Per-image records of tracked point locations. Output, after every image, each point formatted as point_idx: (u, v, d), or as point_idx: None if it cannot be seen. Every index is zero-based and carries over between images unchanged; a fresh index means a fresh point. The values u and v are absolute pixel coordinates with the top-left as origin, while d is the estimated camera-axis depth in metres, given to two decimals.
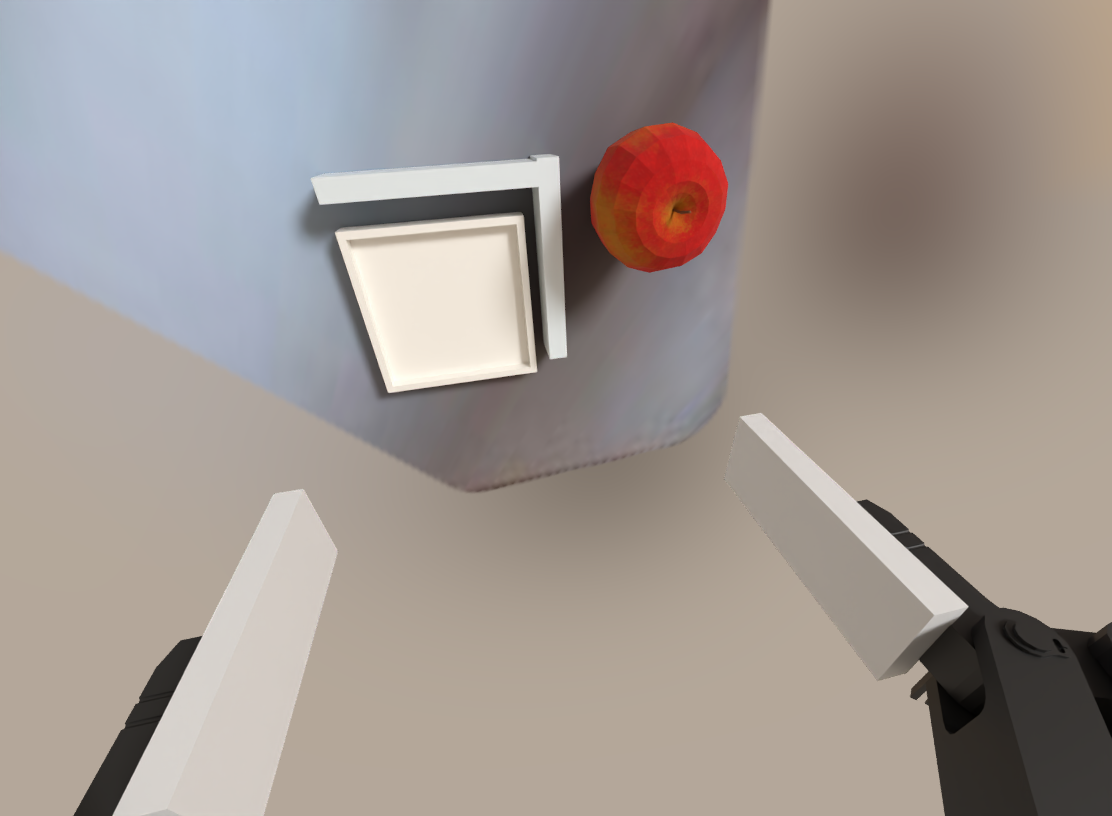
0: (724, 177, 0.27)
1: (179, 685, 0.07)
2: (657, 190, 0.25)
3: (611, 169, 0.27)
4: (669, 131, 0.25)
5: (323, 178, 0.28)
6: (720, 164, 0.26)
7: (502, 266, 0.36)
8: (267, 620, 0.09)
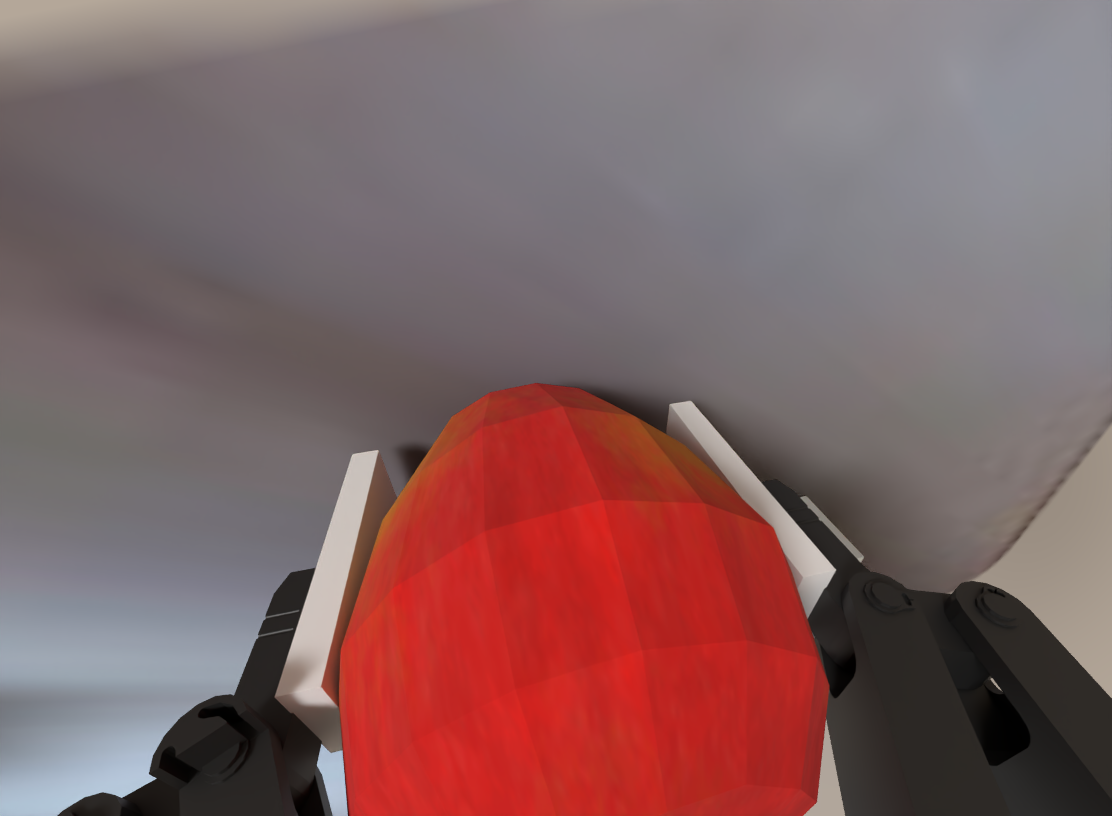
0: (486, 738, 0.05)
1: (307, 600, 0.09)
2: None
3: None
4: None
5: None
6: (428, 762, 0.05)
7: None
8: (364, 556, 0.10)
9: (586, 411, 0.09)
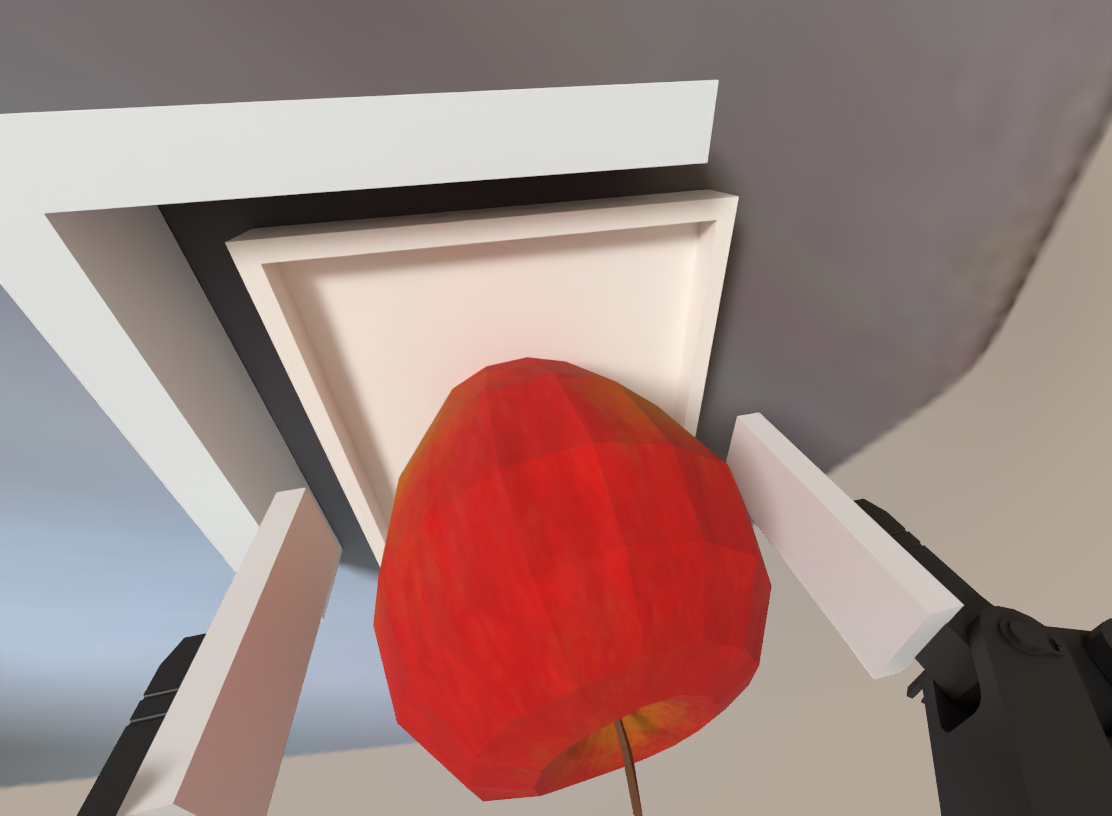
0: (511, 614, 0.06)
1: (184, 682, 0.07)
2: None
3: None
4: None
5: None
6: (466, 637, 0.07)
7: (410, 290, 0.13)
8: (269, 618, 0.09)
9: (574, 377, 0.10)
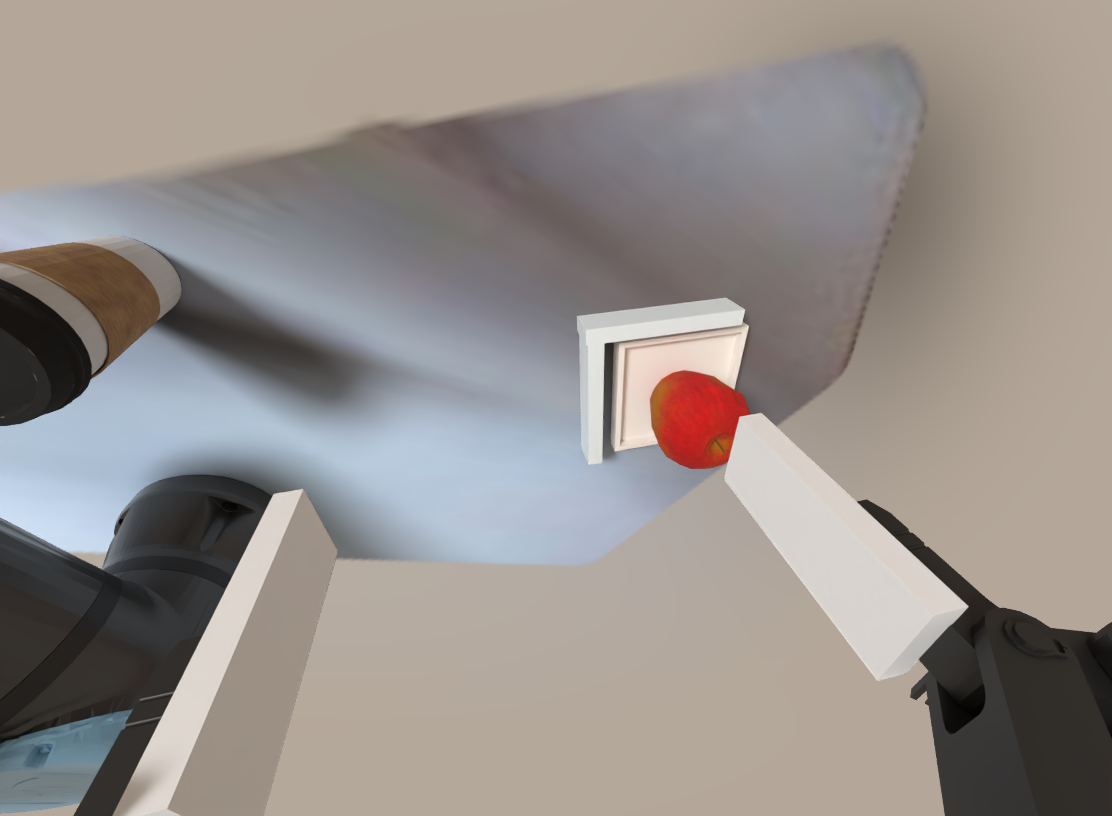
0: (702, 413, 0.37)
1: (179, 685, 0.07)
2: (704, 462, 0.39)
3: None
4: (667, 442, 0.40)
5: (589, 459, 0.47)
6: (694, 417, 0.38)
7: (651, 352, 0.44)
8: (266, 620, 0.09)
9: (704, 374, 0.41)
